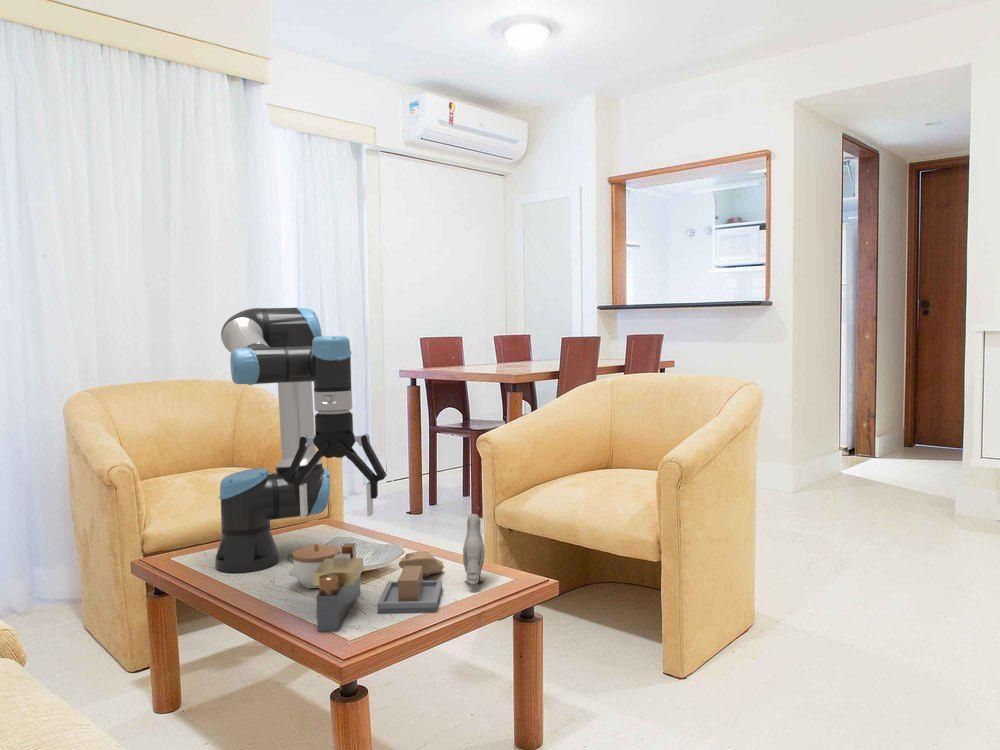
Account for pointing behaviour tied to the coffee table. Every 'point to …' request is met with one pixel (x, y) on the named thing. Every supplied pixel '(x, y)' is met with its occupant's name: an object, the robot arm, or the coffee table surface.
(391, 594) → the tray
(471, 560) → the bird
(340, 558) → the lever cap
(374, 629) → the coffee table surface
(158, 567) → the coffee table surface
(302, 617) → the coffee table surface
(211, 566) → the coffee table surface
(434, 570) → the pottery oil lamp
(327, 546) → the lidded jar
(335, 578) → the plane
